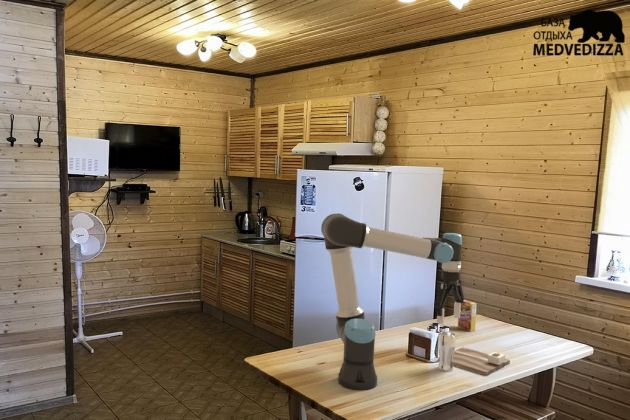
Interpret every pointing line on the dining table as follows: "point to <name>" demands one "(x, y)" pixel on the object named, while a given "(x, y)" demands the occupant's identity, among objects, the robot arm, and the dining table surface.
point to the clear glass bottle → (446, 350)
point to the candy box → (467, 316)
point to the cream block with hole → (496, 358)
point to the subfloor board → (475, 361)
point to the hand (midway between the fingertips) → (448, 320)
